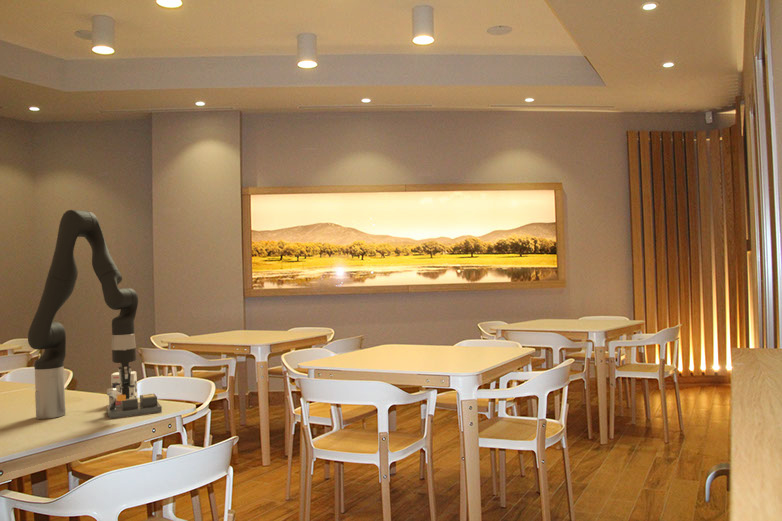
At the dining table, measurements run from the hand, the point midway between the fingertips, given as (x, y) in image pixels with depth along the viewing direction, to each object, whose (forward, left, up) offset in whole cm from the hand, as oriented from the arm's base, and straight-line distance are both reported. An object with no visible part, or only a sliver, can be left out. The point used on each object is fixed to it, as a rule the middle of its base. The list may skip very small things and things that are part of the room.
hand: (125, 398), depth 226 cm
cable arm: (-3, +5, 0) cm, 6 cm away
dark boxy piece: (+3, +12, -7) cm, 14 cm away
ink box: (+2, +32, -7) cm, 33 cm away
